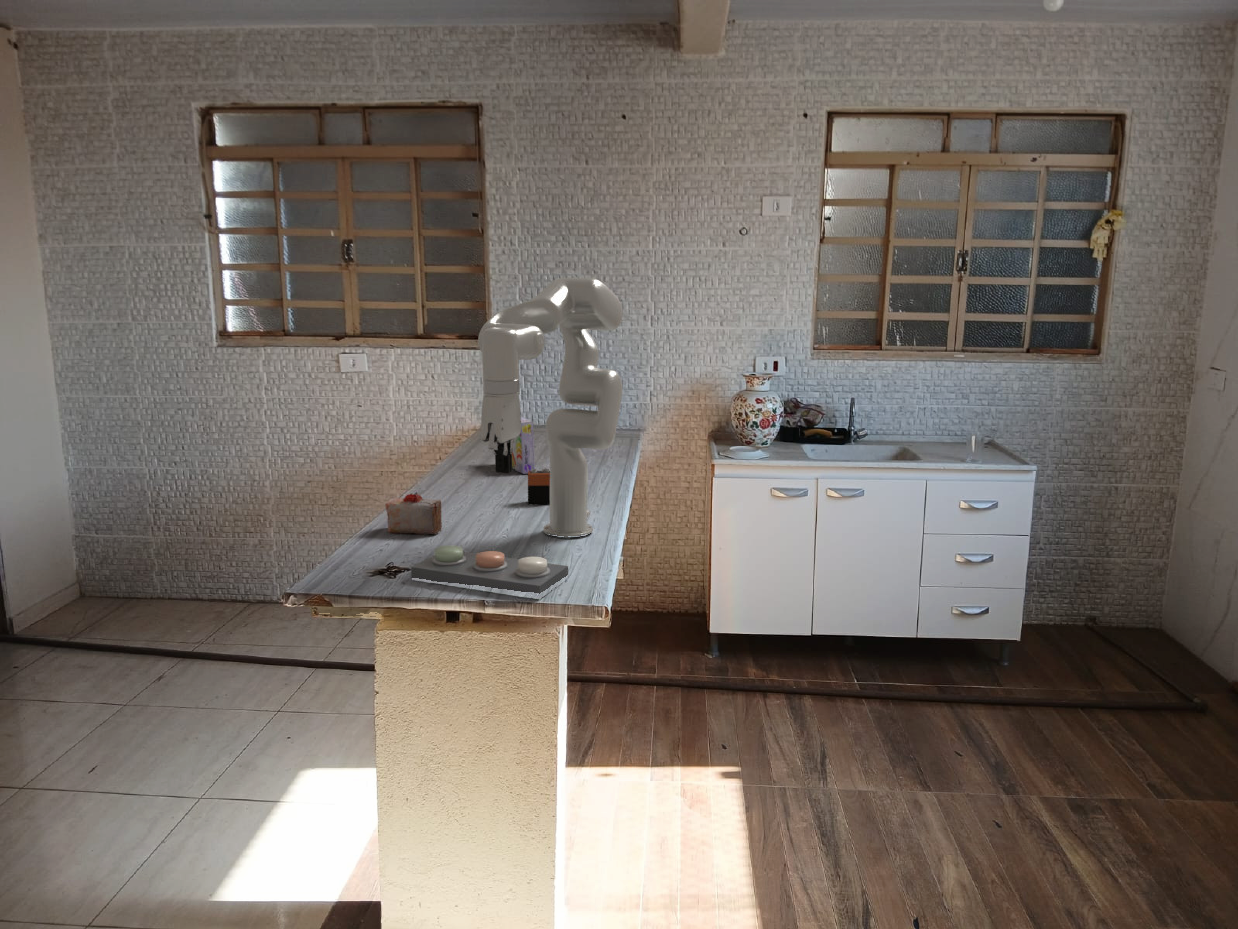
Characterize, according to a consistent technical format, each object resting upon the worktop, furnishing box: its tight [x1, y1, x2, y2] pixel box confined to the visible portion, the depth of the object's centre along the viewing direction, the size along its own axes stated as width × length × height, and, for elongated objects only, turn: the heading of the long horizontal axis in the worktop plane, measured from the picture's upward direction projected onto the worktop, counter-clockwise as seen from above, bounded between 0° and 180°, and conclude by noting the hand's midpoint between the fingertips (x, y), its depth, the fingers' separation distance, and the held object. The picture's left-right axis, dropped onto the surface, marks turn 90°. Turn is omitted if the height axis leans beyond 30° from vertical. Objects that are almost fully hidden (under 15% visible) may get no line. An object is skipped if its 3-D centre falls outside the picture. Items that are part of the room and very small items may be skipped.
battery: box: [527, 467, 550, 505], centre depth 257 cm, size 4×7×10 cm, turn 97°
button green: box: [434, 545, 464, 562], centre depth 193 cm, size 6×6×2 cm
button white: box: [518, 556, 548, 574], centre depth 186 cm, size 6×6×2 cm
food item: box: [384, 491, 443, 535], centre depth 226 cm, size 14×8×10 cm, turn 83°
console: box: [410, 551, 569, 594], centre depth 190 cm, size 14×30×4 cm, turn 69°
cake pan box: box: [510, 416, 536, 475], centre depth 303 cm, size 19×5×18 cm, turn 25°
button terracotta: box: [476, 550, 505, 568], centre depth 190 cm, size 6×6×2 cm
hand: (504, 471), depth 192 cm, fingers closed
